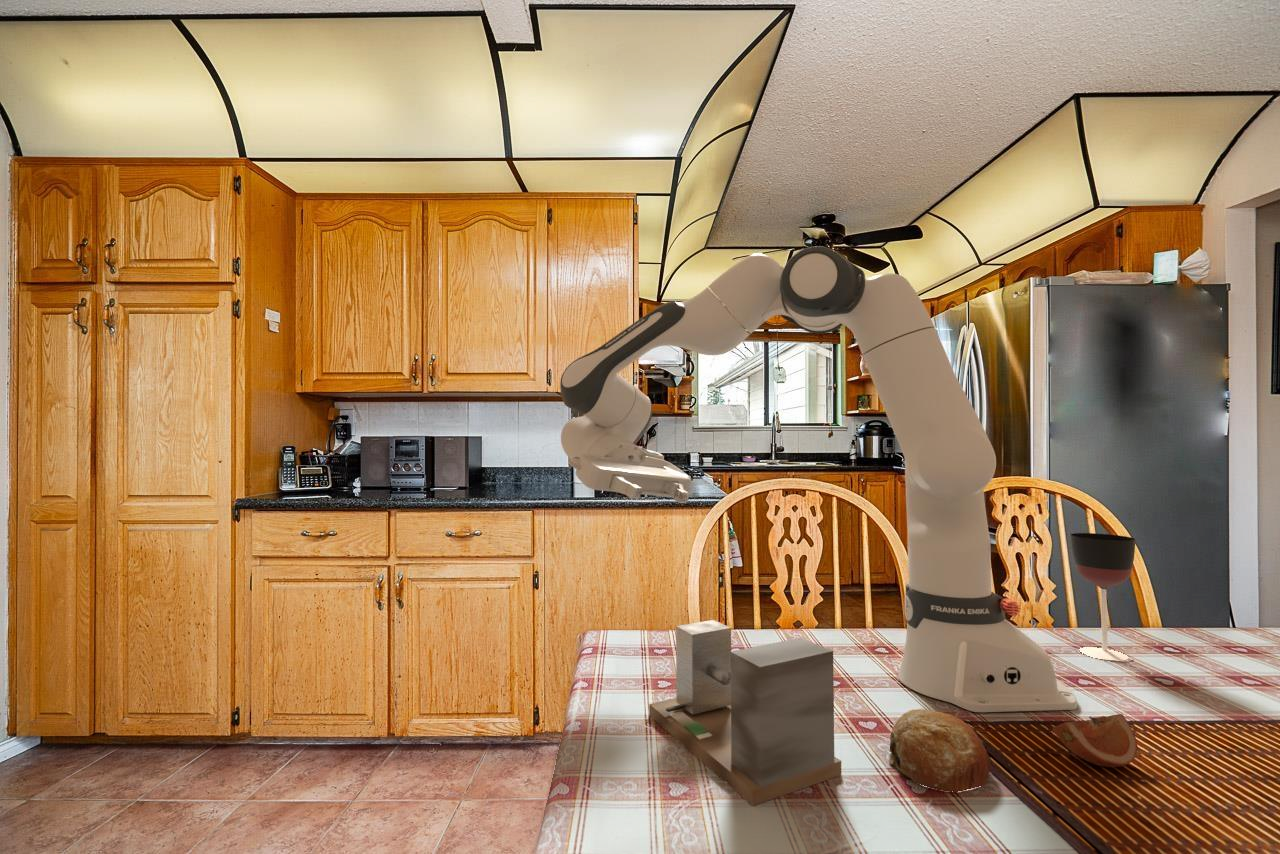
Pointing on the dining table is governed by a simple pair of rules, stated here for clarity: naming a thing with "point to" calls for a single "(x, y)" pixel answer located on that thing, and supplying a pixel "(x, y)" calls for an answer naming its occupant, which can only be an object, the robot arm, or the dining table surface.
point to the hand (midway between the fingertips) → (661, 496)
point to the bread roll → (939, 751)
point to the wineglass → (1103, 574)
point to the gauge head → (703, 666)
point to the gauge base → (766, 722)
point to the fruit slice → (1100, 740)
